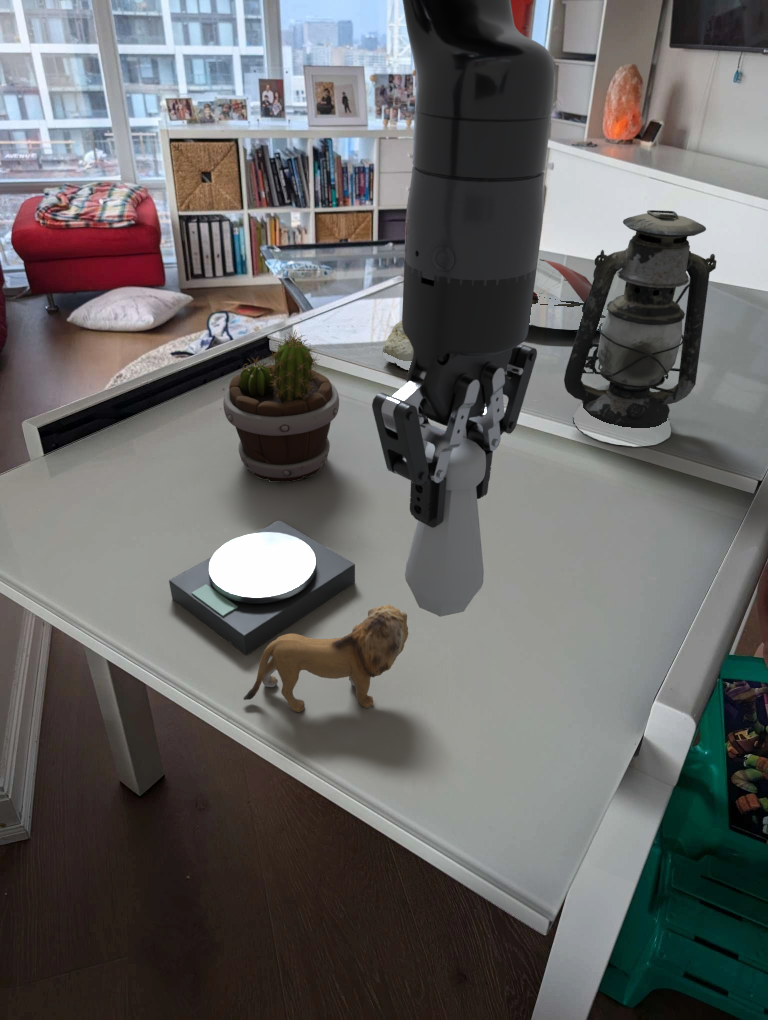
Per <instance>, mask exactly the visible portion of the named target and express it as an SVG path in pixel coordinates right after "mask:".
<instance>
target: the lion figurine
mask: <svg viewBox="0 0 768 1020" xmlns="http://www.w3.org/2000/svg"><path fill="white" fill-rule="evenodd" d="M408 637H409V627H408V614H407V612H404V611H401V609H400V608H396V607H394V606H392V605H391V604H385V605H380V606H374V607H372V608H368V611H367V616H366V617H365V618H364V620H363V621H362V622H360V623H359V624H356V625H355V626H354V627H353V628H352V631H351V632H350V633H348V634H347V635H345V636H343V637H337V638H311V637H308V636H305V635H302V634H298V633H286V634H282V635H280V636H278V637H276V639H274V640H273V641H271V642H270V643H269V644H267V646H266V647H265V649H264V651H263V653H262V655H261V658H260V661H259V665H258V670H257V674H256V675H257V676H256V680H255V682H254V685H253V686H252V688H251V689H250V690H249V691H248V692H247V693H246V695H244V696H243V700H244V701H247V700H248V701H249V700H252V699H253V698H254V697H256V695H257V693H258V691H259V689H260V687H261V685H262V684H263V685H264V687H267V688H274V687H276V686H277V685H278V683H279V682H278V679H277V678H276V676H273V675H272V674H273V673H275V672H276V671H277V674H278V676H279V677H280V680H281V682H282V686H281V690H280V692H281V695H282V696H283V698H284V699H285V700H286V702H287V704H288V706H289V708H290V709H291V710H292V711H294V712H295V713H300V712H303V711H304V710H305V707H306V705H305V701H304V700H303V699H302V698H301V699H300V698H296V697H295V696H294V688H295V687H296V684H297V683H298V681H299V678H300V672H301V671H306V672H308V673H310V674H312V675H313V676H314V675H315V676H317V677H318V678H324V679H334V680H337V679H343V678H348V681H349V682H350V684H351V685H352V686H354V687H355V692H356V693H355V696H356V699H357V701H358V703H359V705H360V706H361V707H363V708H365V709H369V708H371V707H373V704H374V698H373V696H372V695H368V692H369V691H370V690H369V689H370V685H371V678H375V677H379V676H381V675H382V674H383V673H384V672H386V671H389V670H390V669H391V668H392V666H393V665H394V664H395V661H396V659H397V658H398V656H399V655H400V654H401V653H402V652H403V651H404V648H405V643H406V642H407V639H408Z"/></svg>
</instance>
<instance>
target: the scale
mask: <svg viewBox="0 0 768 1020" xmlns="http://www.w3.org/2000/svg"><path fill="white" fill-rule="evenodd" d="M259 532H277V533H284V534H288V535H292V536H294V537H297V538H299V539H301V540H302V541H304V542H305V543H307V544H308V545H309V546H310V547H311V549H312V550H313V552H314V553H315V556H316V566H317V568H316V573H315V576H314V578H313V579H312V581H311V582H310V583H309V585H308V586H307V587H305V588H304V589H303V590H302V591H300V592H299V593H297V594H295V595H293V596H291V597H289V598H286V599H283V600H280V601H276V602H271V603H261V604H254V603H244V602H239V601H235V600H232V599H230V598H227V597H225V596H224V595H222V594H221V593H219V592H218V591H217V590H216V589H215V588H214V587H213V585H212V583H211V581H210V578H209V571H208V567H209V562H210V560H211V558H212V556H211V557H209V558H207V559H205V560H203V561H201V562H200V563H198V564H196V565H194V566H193V567H191V568H189V569H187V570H185V571H183V572H182V573H180V574H178V575H176V576H174V577H172V578H170V579H169V580H168V582H169V589H170V594H171V595H170V596H171V599H172V600H173V601H175V602H176V604H178V605H179V606H181V607H182V608H183V609H185V610H186V611H187V612H189V613H190V614H191V615H193V616H194V617H195V618H196V619H198V620H199V621H200V622H202V623H204V624H205V625H206V626H207V627H209V629H211V630H213V631H214V632H215V633H217V634H218V635H219V636H220V637H222V638H223V639H225V640H226V641H227V642H228V643H230V644H231V645H232V646H233V647H235V648H236V649H237V650H239V651H240V652H241V653H243V654H244V655H246V656H247V655H249V654H250V653H252V652H253V651H255V650H256V649H258V648H259V647H260V646H262V645H263V644H265V643H266V642H268V641H269V640H271V639H273V638H274V637H275V636H277V635H279V634H280V633H281V632H283V631H285V630H286V629H288V628H289V627H290V626H292V625H294V624H295V623H296V622H298V621H299V620H301V619H302V618H304V617H305V616H307V615H308V614H310V613H311V612H314V611H315V610H316V609H318V608H319V607H320V606H322V605H323V604H325V603H327V602H328V601H330V600H331V599H332V598H334V597H336V596H337V595H338V594H339V593H341V592H343V591H344V590H345V589H347V588H348V587H350V586H352V585H353V584H354V583H356V564H355V563H354V562H352V561H351V560H349V559H347V558H346V557H344V556H342V555H340V554H338V553H337V552H335V551H333V550H332V549H330V548H328V547H327V546H325V545H323V544H321V543H320V542H318V541H316V540H315V539H313V538H311V537H309V536H308V535H306V534H304V533H303V532H301V531H299V530H298V529H296V528H295V527H293V526H291V525H290V524H287V523H286V522H284V521H282V520H281V519H278V520H277V521H275V522H273V523H271V524H269V525H267V526H265V527H263V528H262V529H260V530H258V531H256V532H255V533H259Z"/></svg>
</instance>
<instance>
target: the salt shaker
mask: <svg viewBox="0 0 768 1020" xmlns="http://www.w3.org/2000/svg"><path fill="white" fill-rule="evenodd" d="M434 451H435V446H434V445H433V444H432V443H430V442H429V444H427V446H426V450H425V454H426V457H428V458H430V459H433V455H434ZM485 470H486V455H485V452H484V451H483V450H482V448H481V447H480V446H479V445H478V444H477V443H476V442H474V441H471V440H469V439H467V438H462V441H461V444H460V446H459V447H457V448H454V449H453V450H452V452H451V456H450V460H449V463H448V467H447V471H446V474H445V478H447V481H446V494H445V506H444V519H443V522H442V523H441V524H439V525H438V526H436V527H435V528H432V527H430V526H428V525H426V524H424V523H422V522H420V521H418V520H417V523H416V525H415V526H416V527H415V530H414V533H413V537H412V541H411V544H410V548H409V551H408V556H407V560H406V564H405V570H404V578H405V581H406V583H407V586H408V587H409V589H410V591H411V593H412V595H413V597H414V599H415V601H416V605H417V606H418V607H419V608H420V609H422V610H424V611H427V612H428V613H430V614H434V615H436V616H438V617H440V618H441V617H447V616H450V615H455V614H459V613H460V614H461V613H464V612H465V610H466V609H467V608H468V606H469V604H470V603H471V602H472V601H473V599H474V597H475V596H476V595H477V594H478V592H479V591H480V590H481V589H482V587H483V584H484V578H485V577H484V574H485V570H484V569H485V568H484V560H483V559H484V558H483V549H482V548H483V547H482V538H481V536H482V535H481V526H480V515H479V505H478V499H477V492H476V486H477V485H478V484H479V483H480V482H481V481H482V480H483V478H484V476H485Z"/></svg>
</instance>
